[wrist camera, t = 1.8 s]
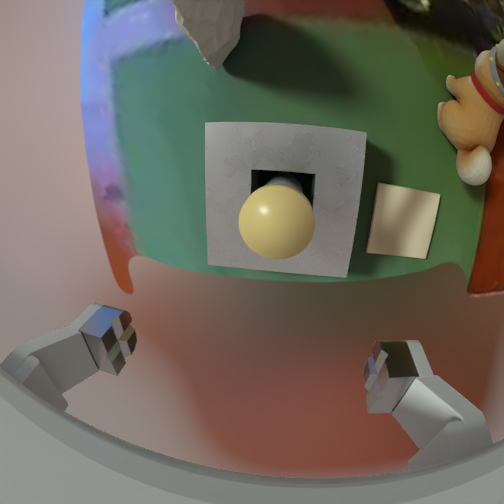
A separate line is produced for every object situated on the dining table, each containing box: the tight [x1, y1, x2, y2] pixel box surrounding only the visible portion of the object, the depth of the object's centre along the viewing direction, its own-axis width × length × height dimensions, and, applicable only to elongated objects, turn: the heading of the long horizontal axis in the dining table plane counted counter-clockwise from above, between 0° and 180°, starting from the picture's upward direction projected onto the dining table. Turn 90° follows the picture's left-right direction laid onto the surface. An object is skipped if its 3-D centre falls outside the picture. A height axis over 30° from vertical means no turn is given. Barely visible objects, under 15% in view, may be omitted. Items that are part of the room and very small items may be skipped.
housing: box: [205, 122, 367, 278], centre depth 26 cm, size 14×14×5 cm
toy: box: [438, 39, 504, 185], centre depth 14 cm, size 10×16×15 cm, turn 170°
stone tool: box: [172, 0, 245, 69], centre depth 15 cm, size 8×3×15 cm, turn 162°
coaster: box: [366, 182, 440, 259], centre depth 27 cm, size 8×8×1 cm
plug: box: [239, 172, 315, 259], centre depth 23 cm, size 5×5×11 cm
